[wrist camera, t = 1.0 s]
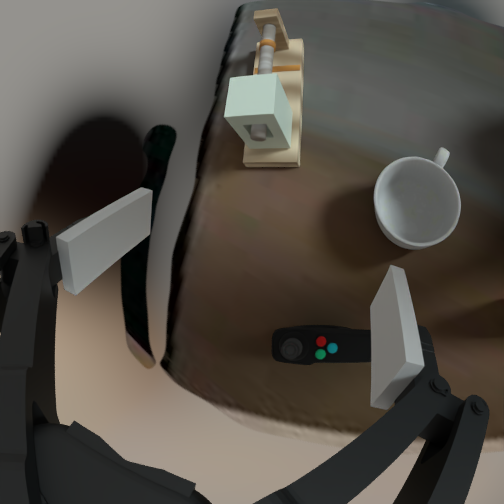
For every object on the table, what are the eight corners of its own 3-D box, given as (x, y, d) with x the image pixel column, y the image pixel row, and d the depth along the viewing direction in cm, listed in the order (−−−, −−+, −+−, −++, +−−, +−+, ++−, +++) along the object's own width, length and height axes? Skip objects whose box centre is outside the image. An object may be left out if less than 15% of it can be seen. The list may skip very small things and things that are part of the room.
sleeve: (290, 148, 43) (273, 113, 33) (249, 148, 44) (224, 117, 35) (292, 112, 43) (276, 73, 34) (253, 113, 45) (230, 77, 35)
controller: (284, 319, 43) (265, 329, 34) (373, 321, 39) (381, 332, 30) (283, 349, 43) (264, 367, 33) (371, 352, 39) (377, 372, 30)
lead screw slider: (299, 167, 44) (284, 136, 34) (247, 167, 47) (220, 138, 37) (304, 45, 46) (291, 5, 36) (260, 49, 49) (241, 11, 39)
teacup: (409, 269, 39) (422, 266, 31) (354, 213, 42) (355, 198, 34) (468, 199, 37) (489, 183, 29) (415, 147, 40) (426, 122, 32)
